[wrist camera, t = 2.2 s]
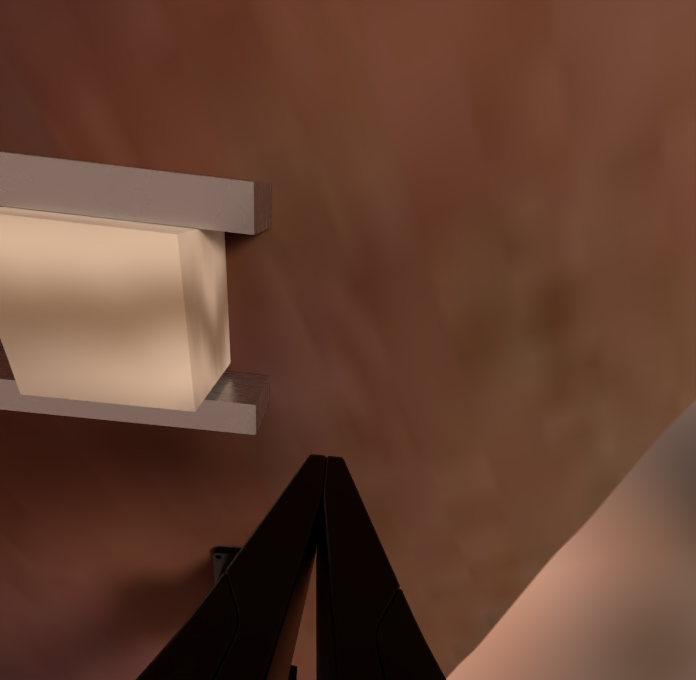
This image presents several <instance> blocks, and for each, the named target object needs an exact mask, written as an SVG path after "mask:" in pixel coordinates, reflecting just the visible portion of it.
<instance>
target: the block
mask: <svg viewBox="0 0 696 680" xmlns="http://www.w3.org/2000/svg"><path fill="white" fill-rule="evenodd" d="M0 339H1V341H2V344H3V347H4V350H5V353H6V355H7V358H8V361H9V364H10V366H11V369H12V372H13V375H14V378H15V380H16V383H17V386H18V389H19V392H20V394H22V395H32V396H42V397H52V398H62V399H72V400H82V401H91V402H101V403H111V404H121V405H131V406H141V407H151V408H161V409H171V410H181V411H191V412H196V410H197V409H198V407H199V406H200V405H201V403H202V402H203V400H204V399H205V398H206V396H207V395H208V394H209V392H210V391H211V389H212V388H213V387H214V385H215V384H216V382H217V381H218V380H219V378H220V377H221V375H222V374H223V373H224V371H225V370H226V368H227V367H228V366H229V364H230V341H229V319H228V296H227V274H226V251H225V232H224V231H215V230H206V229H198V228H189V227H180V226H171V225H163V224H154V223H145V222H137V221H128V220H119V219H110V218H102V217H93V216H84V215H76V214H67V213H58V212H49V211H41V210H32V209H23V208H15V207H6V206H4V207H0Z"/></svg>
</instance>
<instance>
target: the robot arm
mask: <svg viewBox="0 0 696 680" xmlns="http://www.w3.org/2000/svg"><path fill="white" fill-rule="evenodd" d="M316 548H317V556H316V649H317V680H446V678H445V676H444V674H443V673H442V671H441V669H440V667H439V665H438V663H437V661H436V659H435V658H434V656H433V654H432V652H431V650H430V648H429V646H428V645H427V643H426V641H425V639H424V637H423V635H422V632H421V630H420V628H419V626H418V624H417V622H416V620H415V618H414V616H413V614H412V611H411V609H410V607H409V605H408V603H407V600H406V598H405V596H404V594H403V591H402V590H401V589H399V588H400V585H399V583H398V580H397V578H396V576H395V574H394V571H393V569H392V567H391V565H390V562H389V560H388V558H387V556H386V553H385V551H384V549H383V547H382V544H381V542H380V540H379V538H378V535H377V533H376V531H375V529H374V526H373V524H372V522H371V520H370V517H369V515H368V513H367V510H366V508H365V506H364V504H363V501H362V499H361V497H360V495H359V492H358V490H357V488H356V486H355V483H354V481H353V479H352V477H351V474H350V472H349V470H348V468H347V465H346V463H345V461H344V459H343V458H342V457H334V456H328V457H327V458H326V456H324V455H314V454H312V455H310V456H309V457H308V458H307V459H306V461H305V462H304V464H303V465H302V466H301V468H300V469H299V470H298V472H297V473H296V474H295V476H294V477H293V479H292V480H291V481H290V483H289V484H288V485H287V487H286V488H285V489H284V491H283V492H282V494H281V495H280V496H279V498H278V499H277V500H276V502H275V503H274V505H273V506H272V507H271V509H270V510H269V511H268V513H267V514H266V515H265V517H264V518H263V520H262V521H261V522H260V524H259V525H258V526H257V528H256V529H255V530H254V532H253V533H252V535H251V536H250V537H249V539H248V540H247V541H246V543H245V544H244V545H243V547H242V548H241V550H236V549H225V548H217V549H215V550H214V553H213V556H212V559H213V569H214V579H215V585H214V586H213V587H212V589H211V590H210V592H209V593H208V594H207V595H206V597H205V598H204V599H203V601H202V602H201V603H200V604H199V606H198V607H197V608H196V610H195V611H194V612H193V613H192V615H191V616H190V617H189V619H188V620H187V621H186V622H185V623H184V625H183V626H182V627H181V628H180V629H179V631H178V632H177V633H176V634H175V635H174V636H173V638H172V639H171V640H170V641H169V642H168V643H167V645H166V646H165V647H164V648H163V649H162V651H161V652H160V653H159V654H158V655H157V656H156V657H155V658H154V660H153V661H152V662H151V663H150V664H149V665H148V666H147V667H146V669H145V670H144V671H143V672H142V673H141V674H140V675H139V676H138V678H137V679H136V680H296V676H297V666H293V665H291V663H292V658H293V654H294V649H295V645H296V640H297V636H298V631H299V627H300V622H301V618H302V613H303V609H304V605H305V600H306V596H307V591H308V587H309V582H310V578H311V573H312V569H313V564H314V559H315V554H316Z"/></svg>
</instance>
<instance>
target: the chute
mask: <svg viewBox="0 0 696 680" xmlns="http://www.w3.org/2000/svg"><path fill="white" fill-rule="evenodd" d="M0 206H6V207H15V208H23V209H32V210H41V211H49V212H58V213H67V214H76V215H84V216H93V217H102V218H110V219H119V220H128V221H137V222H145V223H154V224H163V225H171V226H180V227H189V228H198V229H206V230H215V231H224V232H232V233H241V234H250V235H255V234H257V233H260V232H262V231H264V230H266V229H268V228H271V183H265V182H257V181H248V180H240V179H231V178H223V177H215V176H206V175H198V174H189V173H181V172H172V171H164V170H156V169H147V168H139V167H130V166H122V165H114V164H105V163H97V162H88V161H80V160H71V159H63V158H55V157H46V156H38V155H29V154H21V153H12V152H4V151H0ZM268 404H269V376H268V375H258V374H249V373H239V372H230V371H224V373H223V374H222V375H221V377H220V378H219V380H218V381H217V382H216V384H215V385H214V387H213V388H212V389H211V391H210V392H209V394H208V395H207V396H206V398H205V399H204V400H203V402H202V403H201V405H200V406H199V407H198V409H197V410H196V412H191V411H181V410H171V409H161V408H151V407H141V406H131V405H121V404H111V403H101V402H91V401H82V400H72V399H62V398H52V397H42V396H32V395H22V394H20V392H19V389H18V386H17V383H16V380H15V378H14V375H13V372H12V369H11V366H10V364H9V361H8V358H7V355H6V353H5V350H4V348H0V409H1V410H11V411H21V412H31V413H41V414H51V415H61V416H71V417H81V418H91V419H101V420H111V421H121V422H131V423H141V424H151V425H161V426H171V427H181V428H191V429H201V430H211V431H221V432H231V433H241V434H251V435H256V434H257V431H258V429H259V426H260V424H261V421H262V419H263V416H264V414H265V412H266V409H267V407H268Z"/></svg>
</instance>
